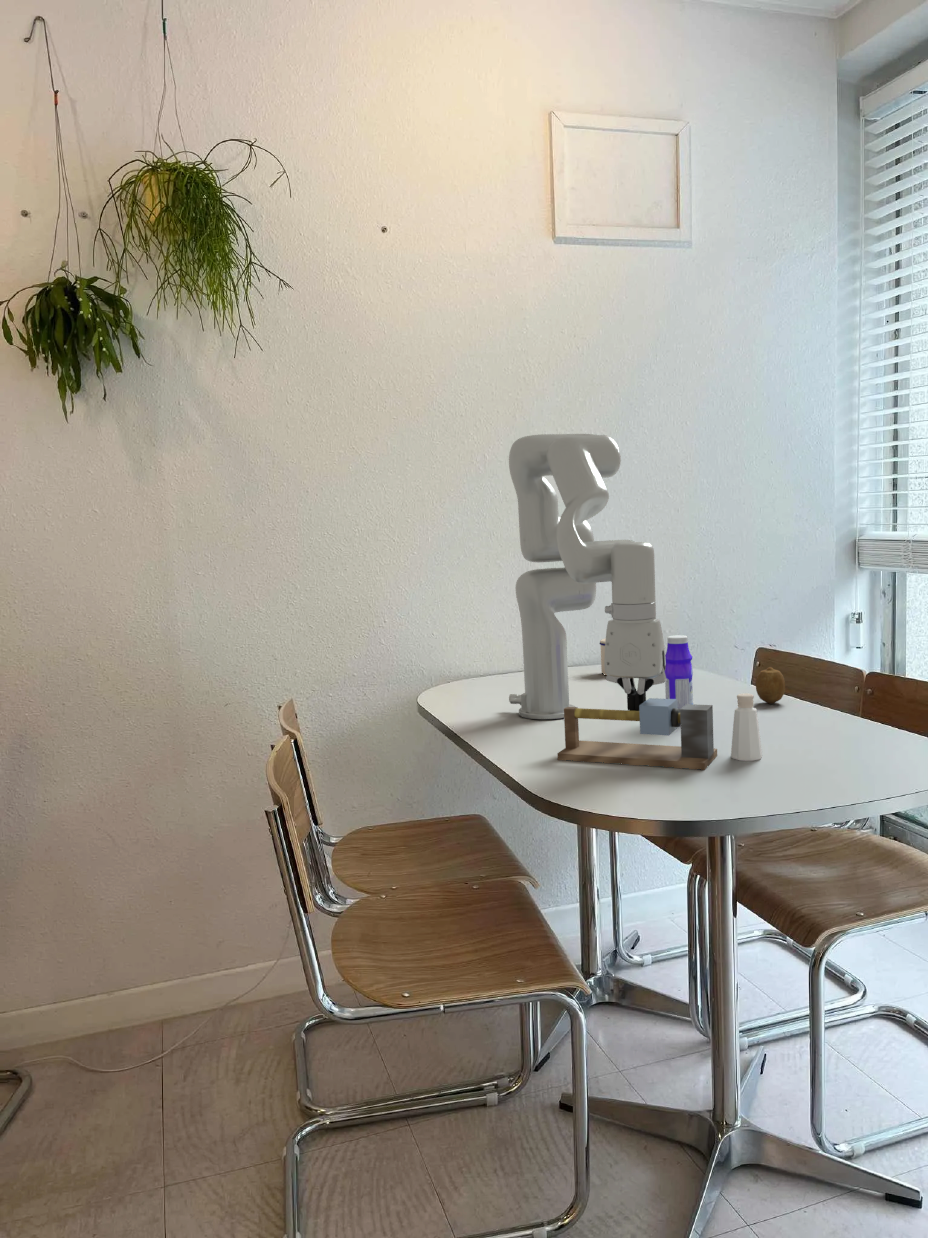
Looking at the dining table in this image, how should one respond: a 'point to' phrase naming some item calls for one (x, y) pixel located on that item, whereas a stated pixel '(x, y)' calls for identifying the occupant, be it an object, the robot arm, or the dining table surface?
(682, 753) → the rod stand
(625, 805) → the dining table surface
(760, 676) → the fruit
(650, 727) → the sleeve
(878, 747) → the dining table surface
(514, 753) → the dining table surface
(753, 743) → the pepper shaker
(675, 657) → the bottle
